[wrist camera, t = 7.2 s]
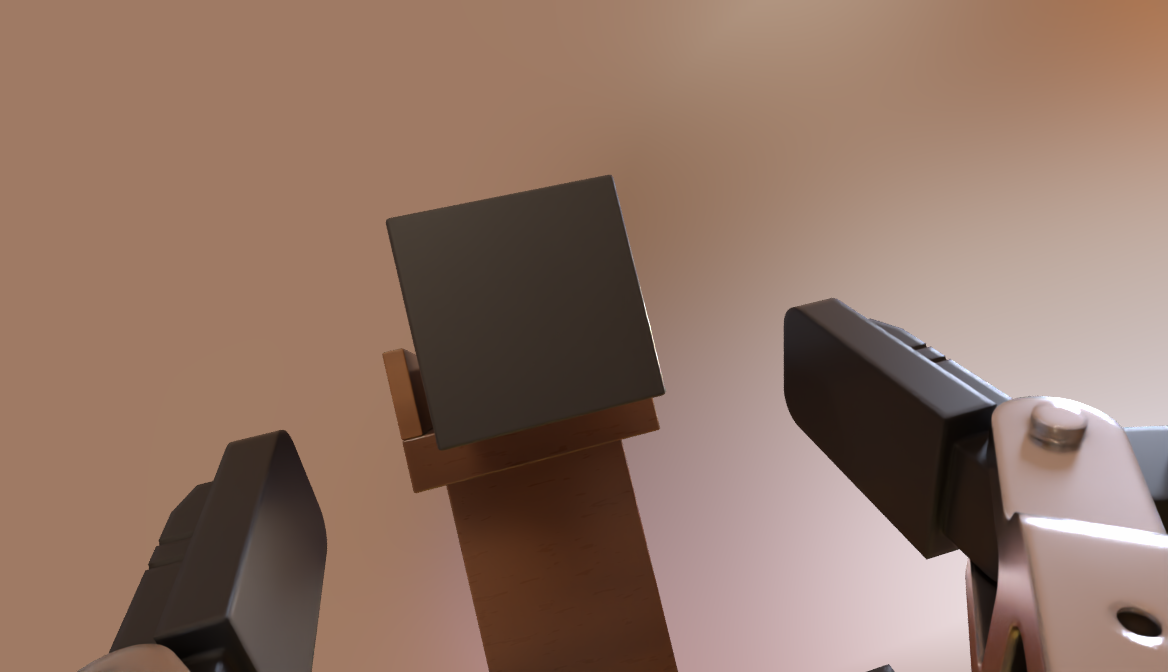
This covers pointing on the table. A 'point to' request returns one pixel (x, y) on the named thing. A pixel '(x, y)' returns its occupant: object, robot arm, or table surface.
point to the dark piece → (524, 310)
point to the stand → (546, 535)
